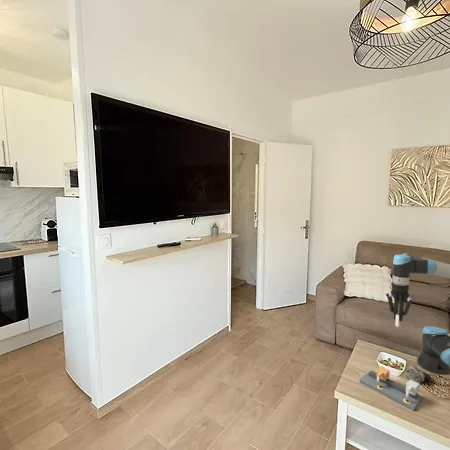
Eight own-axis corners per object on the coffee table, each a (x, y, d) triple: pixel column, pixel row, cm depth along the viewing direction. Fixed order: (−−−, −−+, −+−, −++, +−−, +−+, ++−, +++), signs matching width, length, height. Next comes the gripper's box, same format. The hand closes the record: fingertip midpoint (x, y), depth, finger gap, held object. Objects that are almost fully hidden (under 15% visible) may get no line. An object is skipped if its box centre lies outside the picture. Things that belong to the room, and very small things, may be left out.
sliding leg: (381, 375, 147) (381, 366, 147) (389, 379, 144) (389, 370, 144) (373, 382, 142) (373, 373, 141) (381, 386, 139) (382, 377, 138)
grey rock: (426, 381, 150) (429, 390, 141) (403, 371, 155) (404, 378, 147) (430, 370, 149) (433, 378, 141) (406, 360, 155) (408, 367, 146)
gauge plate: (369, 373, 153) (370, 360, 152) (422, 399, 133) (423, 384, 133) (359, 382, 146) (360, 368, 145) (413, 411, 126) (414, 395, 125)
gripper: (384, 282, 148) (381, 323, 150) (411, 288, 138) (408, 332, 140) (390, 279, 152) (387, 319, 155) (417, 285, 142) (414, 328, 145)
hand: (397, 325), depth 147 cm, fingers closed
